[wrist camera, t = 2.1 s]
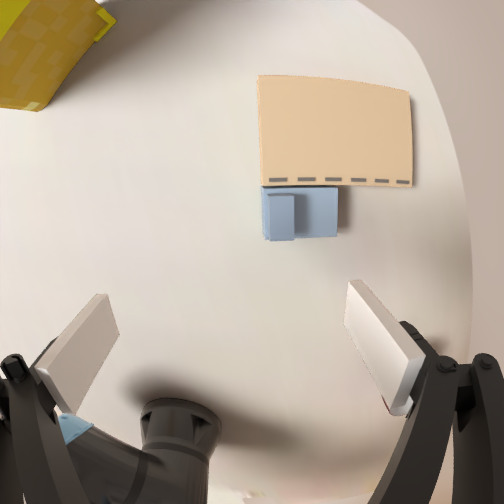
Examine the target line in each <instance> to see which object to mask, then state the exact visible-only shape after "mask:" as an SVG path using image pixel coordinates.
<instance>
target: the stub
mask: <svg viewBox="0 0 504 504" xmlns="http://www.w3.org/2000/svg"><path fill="white" fill-rule="evenodd" d="M261 190H262V219H263V234H264V238H265V240H270V241H288V240H294V238H312V237H336V236H337V215H338V188H337V187H334V186H330V185H293V186H261Z"/></svg>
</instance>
